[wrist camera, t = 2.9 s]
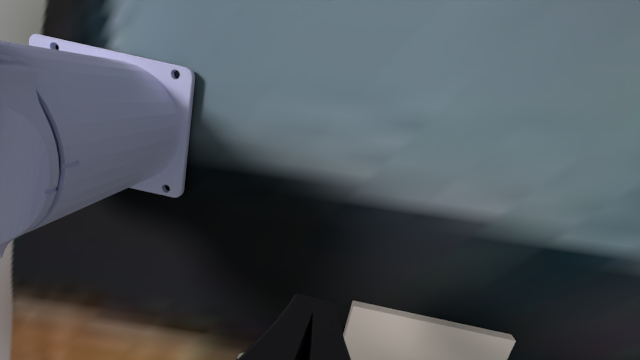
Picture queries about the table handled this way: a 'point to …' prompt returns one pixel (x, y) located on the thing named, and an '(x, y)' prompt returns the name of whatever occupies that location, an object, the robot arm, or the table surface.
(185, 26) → the table surface
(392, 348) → the mat
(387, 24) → the table surface
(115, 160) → the robot arm
